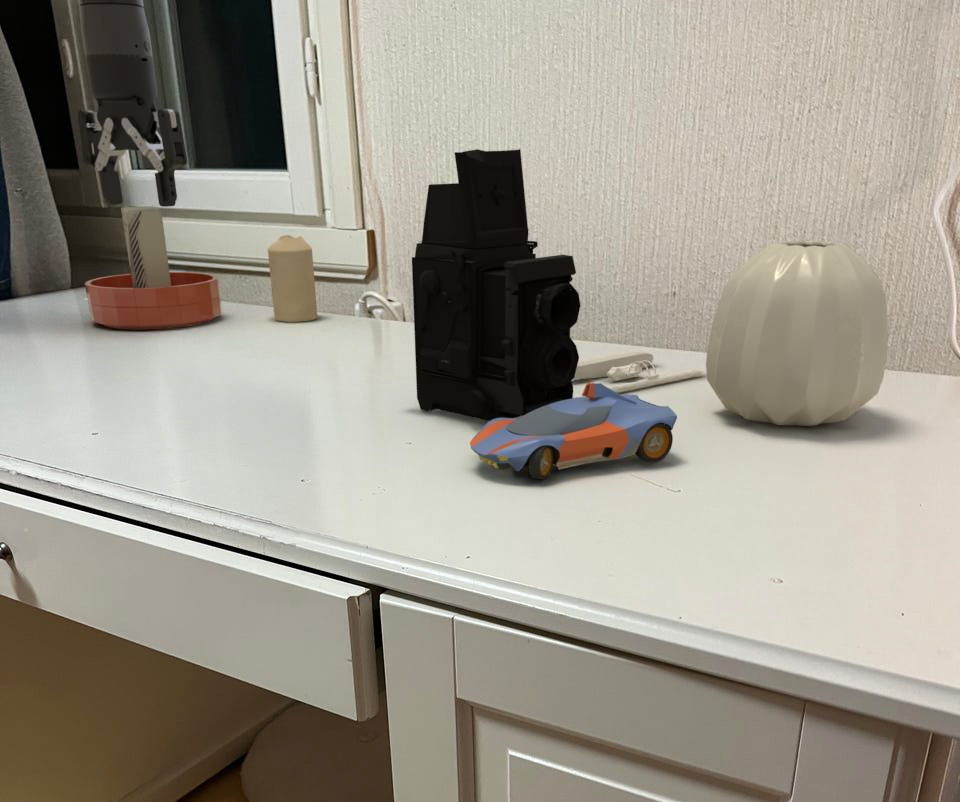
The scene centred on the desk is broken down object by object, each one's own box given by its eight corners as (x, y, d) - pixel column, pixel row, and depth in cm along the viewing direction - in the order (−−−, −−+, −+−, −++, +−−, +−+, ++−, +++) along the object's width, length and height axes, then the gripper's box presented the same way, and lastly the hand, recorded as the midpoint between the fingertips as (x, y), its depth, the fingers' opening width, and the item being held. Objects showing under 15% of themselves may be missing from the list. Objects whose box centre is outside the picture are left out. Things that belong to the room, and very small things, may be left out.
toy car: (451, 459, 72) (449, 385, 69) (622, 433, 78) (626, 364, 75) (503, 491, 65) (503, 410, 63) (685, 459, 71) (692, 385, 69)
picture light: (600, 397, 88) (601, 373, 87) (567, 389, 91) (568, 366, 90) (705, 376, 96) (707, 354, 95) (671, 368, 99) (673, 347, 98)
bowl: (64, 326, 125) (56, 284, 122) (154, 307, 138) (148, 269, 135) (163, 335, 118) (157, 291, 116) (247, 314, 131) (243, 275, 129)
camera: (521, 441, 76) (524, 150, 67) (403, 411, 84) (391, 149, 75) (600, 416, 82) (613, 148, 73) (483, 391, 91) (482, 147, 82)
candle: (271, 316, 130) (263, 235, 125) (312, 314, 131) (305, 233, 127) (278, 323, 125) (270, 238, 120) (321, 320, 127) (315, 236, 122)
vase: (867, 400, 86) (895, 236, 80) (879, 443, 74) (913, 254, 68) (707, 392, 90) (722, 234, 84) (694, 432, 78) (711, 251, 72)
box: (136, 313, 129) (118, 206, 123) (170, 311, 131) (155, 205, 125) (141, 319, 125) (124, 209, 119) (177, 317, 126) (161, 208, 121)
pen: (548, 384, 93) (548, 366, 92) (645, 363, 101) (646, 346, 100) (559, 387, 92) (560, 369, 91) (657, 365, 100) (658, 349, 99)
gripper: (48, 53, 114) (75, 205, 122) (142, 48, 109) (164, 208, 116) (96, 57, 120) (119, 202, 128) (188, 53, 115) (206, 205, 122)
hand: (141, 205), depth 122 cm, fingers open, 8 cm apart
